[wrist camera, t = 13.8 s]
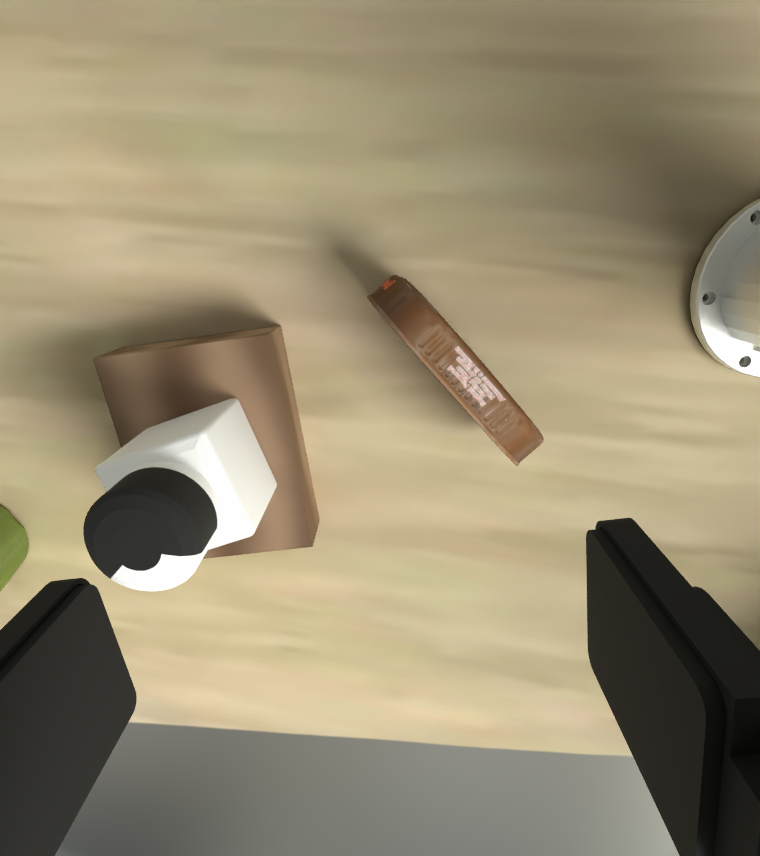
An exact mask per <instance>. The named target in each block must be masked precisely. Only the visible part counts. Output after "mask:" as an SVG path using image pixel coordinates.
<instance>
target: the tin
mask: <svg viewBox="0 0 760 856" xmlns="http://www.w3.org/2000/svg"><path fill="white" fill-rule="evenodd" d="M367 298H368V299H369V301H370V302H371V303H372V305H373V306H374V307H375V308H376V309H377V311H378V312H379V313H380V314H381V315H382V317H383V318H384V319H385V320H386V321H387V322H388V324H389V325H390V326H391V327H392V328H393V329H394V331H395V332H396V333H397V334H398V335H399V336H400V337H401V338H402V339H403V341H404V342H405V343H406V344H407V345H408V347H410V349H411V350H412V351H413V352H414V353H415V354H416V356H417V357H418V358H419V359H420V360H421V361H422V362H423V363H424V364H425V366H426V367H427V368H428V369H429V370H430V371H431V372H432V373H433V374H434V376H435V377H436V378H437V379H438V380H439V381H440V382H441V384H442V385H443V386H444V387H445V388H446V389H447V390H448V391H449V392H450V393H451V394H452V396H453V397H454V398H455V399H456V400H457V401H458V402H459V404H460V405H461V406H462V407H463V408H464V409H465V410H466V411H467V412H468V413H469V415H470V416H471V417H472V418H473V419H474V420H475V421H476V422H477V424H478V425H479V426H480V427H481V428H482V429H483V430H484V431H485V433H486V434H487V435H488V436H489V437H490V438H491V439H492V441H493V442H494V443H495V444H496V445H497V446H498V447H499V448H500V449H501V450H502V451H503V452H504V453H505V455H506V456H507V457H508V458H509V459H510V460H511V461H512V462H513V463H514V464H515V465H516V466H518V465H519V463H520V462H521V461H522V460H523V459H524V458H525V457H526V456H528V455H529V454H530V453H531V452H533V451H534V450H535V449H536V448H537V447H538V446H539V445H540V444H541V443H542V442H543V436H542V434H541V433H540V431H539V430H538V428H537V427H536V426H535V425H534V423H533V422H532V421H531V420H530V418H529V417H528V416H527V415H526V414H525V412H524V411H523V410H522V409H521V408H520V406H519V405H518V404H517V403H516V402H515V400H514V399H513V398H512V397H511V396H510V394H509V393H508V392H507V391H506V390H505V389H504V387H503V386H502V385H501V384H500V383H499V381H498V380H497V379H496V378H495V377H494V376H493V374H492V373H491V372H490V371H489V370H488V368H487V367H486V366H485V365H484V364H483V363H482V361H481V360H480V359H479V358H478V357H477V356H476V355H475V353H474V352H473V351H472V350H471V349H470V348H469V347H468V345H467V344H466V343H465V342H464V341H463V340H462V339H461V338H460V336H459V335H458V334H457V333H456V332H455V331H454V330H453V329H452V327H451V326H450V325H449V324H448V323H447V322H446V321H445V319H444V318H443V317H442V316H441V315H440V314H439V313H438V312H437V310H436V309H435V308H434V307H433V306H432V305H431V304H430V303H429V302H428V301H427V300H426V298H425V297H424V296H423V295H422V294H421V293H420V292H419V291H418V290H417V289H416V288H415V287H414V286H413V285H412V284H411V283H410V282H408V281H407V280H406V279H404V278H402V277H398V276H397V275H393V276H391V277H390V278H389V279H388V280H387V281H386V282H385V283H384V284H383V285H382V286H381V287H380V288H379V289H378V290H376V291H375V292H374V293H373V294H372V295H368V297H367Z"/></svg>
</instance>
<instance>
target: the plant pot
mask: <svg viewBox="0 0 760 856" xmlns="http://www.w3.org/2000/svg"><path fill="white" fill-rule="evenodd" d="M27 552H28V538H27V534H26V532H25V529H24V528H23V526H22V525H20V524H19V523H18V522H17V521H16V520H15V519H14V518H13V516H12V514H11V513H10V511H8V510H7V509H5V508H4V507H2V506H0V592H1V590H2V589H3V588H4V586H5V585H6V584H7V582H8V581H9V580H10V579H11V577H12V576H13V575H14V573H15V572H16V571H17V569H18V568H19V566H20V565H21V564H22V562H23V561H24V559H25V558H26V555H27Z"/></svg>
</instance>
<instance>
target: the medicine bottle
mask: <svg viewBox="0 0 760 856" xmlns="http://www.w3.org/2000/svg"><path fill="white" fill-rule="evenodd" d="M95 472H96V474H97V476H98V478H99V479H100V481H101V483H102V485H103V486H104V488H105V490H106V493H105V494H104V495H103V496H101V497H100V498H99V499H98V500H97V501H96V502H95V503H94V504H93V505H92V506H91V508H90V510H89V511H88V513H87V516H86V518H85V522H84V541H85V544H86V548H87V550H88V552H89V555H90V557H91V558H92V560H93V562H94V563H95V565H96V566H97V567H98V568H99V569H100V570H101V571H102V572H103V573H104V574H105V575H106V576H107V577H109V578H110V579H111V580H113V581H115V582H116V583H118V584H120V585H123V586H125V587H128V588H131V589H135V590H141V591H162V590H167V589H171V588H173V587H176V586H178V585H180V584H182V583H183V582H185V581H186V580H187V579H188V578H190V577H191V575H192V574H193V573H194V572H195V570H196V569H197V567H198V565H199V564H200V562H201V560H202V559H203V557H204V555H205V554H206V552H207V550H209V549H213V548H216V547H219V546H222V545H225V544H228V543H232V542H235V541H238V540H241V539H244V538H247V537H250V536H252V535H253V534H254V533H255V531H256V528H257V526H258V524H259V522H260V520H261V518H262V516H263V514H264V512H265V510H266V508H267V505H268V503H269V501H270V499H271V497H272V495H273V493H274V491H275V489H276V486H277V483H276V480H275V478H274V476H273V474H272V472H271V469H270V467H269V465H268V463H267V461H266V459H265V456H264V454H263V452H262V450H261V448H260V446H259V443H258V441H257V439H256V437H255V435H254V433H253V430H252V428H251V426H250V424H249V422H248V420H247V417H246V415H245V413H244V411H243V409H242V407H241V405H240V402H239V401H238V399H236V398H231V399H228V400H225V401H223V402H220V403H217V404H214V405H211V406H208V407H206V408H203V409H200V410H197V411H194V412H192V413H189V414H186V415H183V416H180V417H177V418H175V419H172V420H169V421H166V422H163V423H161V424H158V425H155V426H152V427H149V428H147V429H146V430H144V431H143V432H142V433H140V434H139V435H138V436H136V437H135V438H134V439H132V440H131V441H130V442H128V443H127V444H126V445H124V446H123V447H122V448H120V449H119V450H118V451H116V452H115V453H114V454H113V455H111V456H110V457H109V458H107V459H106V460H105V461H103V462H102V463H101V464H99V465H98V466H97V467H96V469H95Z"/></svg>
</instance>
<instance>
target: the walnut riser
mask: <svg viewBox="0 0 760 856" xmlns="http://www.w3.org/2000/svg"><path fill="white" fill-rule="evenodd" d="M93 360H94V363H95V366H96V369H97V373H98V376H99V379H100V382H101V385H102V388H103V391H104V395H105V398H106V401H107V404H108V407H109V410H110V413H111V417H112V420H113V423H114V426H115V429H116V432H117V435H118V438H119V442H120V445H121V448H122V447H123V446H124V445H126V444H127V443H128V442H130V441H131V440H132V439H134V438H135V437H136V436H138V435H139V434H140V433H142V432H143V431H144V430H146V429H147V428H149V427H152V426H155V425H158V424H161V423H163V422H166V421H169V420H172V419H175V418H177V417H180V416H183V415H186V414H189V413H192V412H194V411H197V410H200V409H203V408H206V407H208V406H211V405H214V404H217V403H220V402H223V401H225V400H228V399H231V398H236V399H238V401H239V402H240V405H241V407H242V409H243V411H244V413H245V415H246V417H247V420H248V422H249V424H250V426H251V428H252V430H253V433H254V435H255V437H256V439H257V441H258V443H259V446H260V448H261V450H262V452H263V454H264V456H265V459H266V461H267V463H268V465H269V467H270V469H271V472H272V474H273V476H274V478H275V480H276V483H277V486H276V489H275V491H274V493H273V495H272V497H271V499H270V501H269V503H268V505H267V508H266V510H265V512H264V514H263V516H262V518H261V520H260V522H259V524H258V526H257V528H256V531H255V533H254V534H253V535H252V536H250V537H247V538H244V539H241V540H238V541H235V542H232V543H228V544H225V545H222V546H219V547H216V548H213V549H209V550H207V552H206V554H205V555H204V557H203V559H205V558H214V557H223V556H232V555H241V554H250V553H259V552H268V551H277V550H286V549H295V548H305V547H313V543H314V539H315V535H316V532H317V528H318V524H319V515H318V510H317V505H316V500H315V495H314V490H313V485H312V480H311V475H310V470H309V465H308V460H307V455H306V450H305V445H304V440H303V435H302V430H301V425H300V420H299V415H298V410H297V405H296V399H295V394H294V389H293V384H292V379H291V374H290V369H289V364H288V359H287V354H286V349H285V344H284V339H283V334H282V329H281V326H274V327H267V328H260V329H253V330H245V331H238V332H231V333H224V334H217V335H209V336H202V337H195V338H188V339H181V340H173V341H166V342H159V343H152V344H145V345H137V346H130V347H123V348H120V349H117V350H115V351H112V352H109V353H107V354H104V355H102V356H99V357H96V358H94V359H93Z"/></svg>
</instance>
